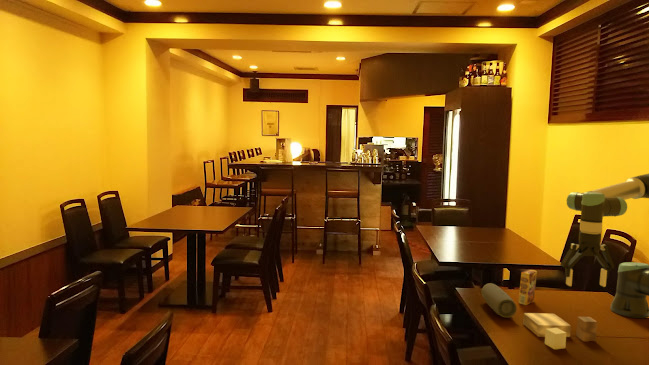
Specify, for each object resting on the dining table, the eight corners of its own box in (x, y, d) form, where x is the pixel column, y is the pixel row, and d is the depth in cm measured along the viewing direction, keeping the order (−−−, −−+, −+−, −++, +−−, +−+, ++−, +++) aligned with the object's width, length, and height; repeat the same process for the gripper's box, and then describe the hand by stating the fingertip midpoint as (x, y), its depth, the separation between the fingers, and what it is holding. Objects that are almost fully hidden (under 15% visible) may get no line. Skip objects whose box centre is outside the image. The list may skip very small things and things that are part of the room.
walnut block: (588, 336, 192) (589, 316, 191) (595, 341, 187) (597, 321, 186) (575, 336, 192) (577, 316, 191) (583, 341, 187) (584, 321, 186)
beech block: (553, 324, 204) (553, 313, 203) (569, 337, 191) (570, 325, 191) (523, 324, 203) (523, 313, 203) (537, 337, 190) (538, 325, 190)
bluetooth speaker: (517, 321, 206) (518, 298, 205) (495, 320, 206) (496, 297, 205) (499, 302, 229) (500, 282, 228) (479, 302, 229) (480, 281, 228)
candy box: (527, 305, 226) (529, 274, 224) (518, 303, 229) (520, 272, 227) (534, 301, 232) (537, 270, 230) (525, 299, 235) (528, 268, 233)
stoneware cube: (555, 342, 185) (556, 327, 185) (565, 348, 180) (566, 332, 180) (544, 343, 184) (545, 328, 183) (554, 349, 179) (555, 334, 178)
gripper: (615, 231, 191) (610, 283, 193) (553, 229, 190) (549, 281, 192) (628, 234, 184) (622, 289, 186) (563, 233, 183) (559, 287, 185)
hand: (585, 285), depth 189 cm, fingers open, 13 cm apart
